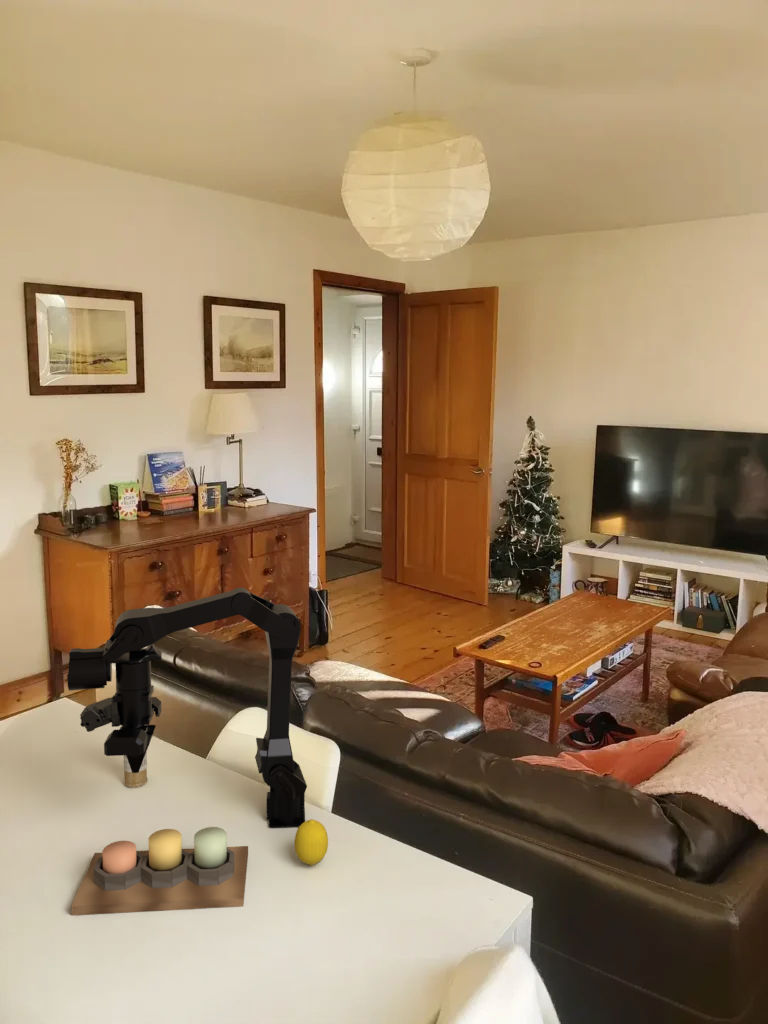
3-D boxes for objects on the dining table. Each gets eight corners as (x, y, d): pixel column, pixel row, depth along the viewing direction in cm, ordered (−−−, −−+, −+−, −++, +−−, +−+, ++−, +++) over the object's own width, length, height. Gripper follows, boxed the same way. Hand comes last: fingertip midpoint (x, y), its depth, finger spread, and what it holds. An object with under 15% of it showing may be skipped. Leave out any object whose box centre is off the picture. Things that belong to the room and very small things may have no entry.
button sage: (227, 849, 128) (227, 826, 128) (225, 867, 124) (225, 843, 123) (196, 850, 128) (196, 827, 127) (192, 868, 123) (192, 844, 122)
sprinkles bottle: (142, 775, 161) (140, 712, 159) (151, 784, 157) (150, 719, 155) (120, 782, 158) (118, 717, 156) (128, 791, 154) (127, 725, 152)
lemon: (322, 876, 128) (323, 830, 127) (289, 872, 129) (290, 826, 128) (331, 858, 133) (332, 813, 132) (300, 853, 134) (300, 809, 133)
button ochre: (183, 851, 128) (183, 828, 127) (179, 869, 123) (179, 845, 122) (152, 852, 127) (151, 829, 126) (146, 871, 122) (145, 846, 122)
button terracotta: (139, 863, 127) (138, 839, 126) (133, 881, 122) (132, 857, 122) (107, 864, 126) (106, 841, 126) (99, 883, 122) (99, 859, 121)
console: (248, 854, 134) (248, 833, 133) (243, 906, 120) (243, 883, 119) (94, 861, 131) (94, 839, 130) (71, 915, 117) (71, 891, 116)
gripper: (97, 667, 143) (100, 749, 145) (69, 707, 124) (72, 800, 127) (161, 666, 144) (162, 748, 146) (142, 705, 126) (144, 798, 128)
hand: (135, 771), depth 137 cm, fingers closed
